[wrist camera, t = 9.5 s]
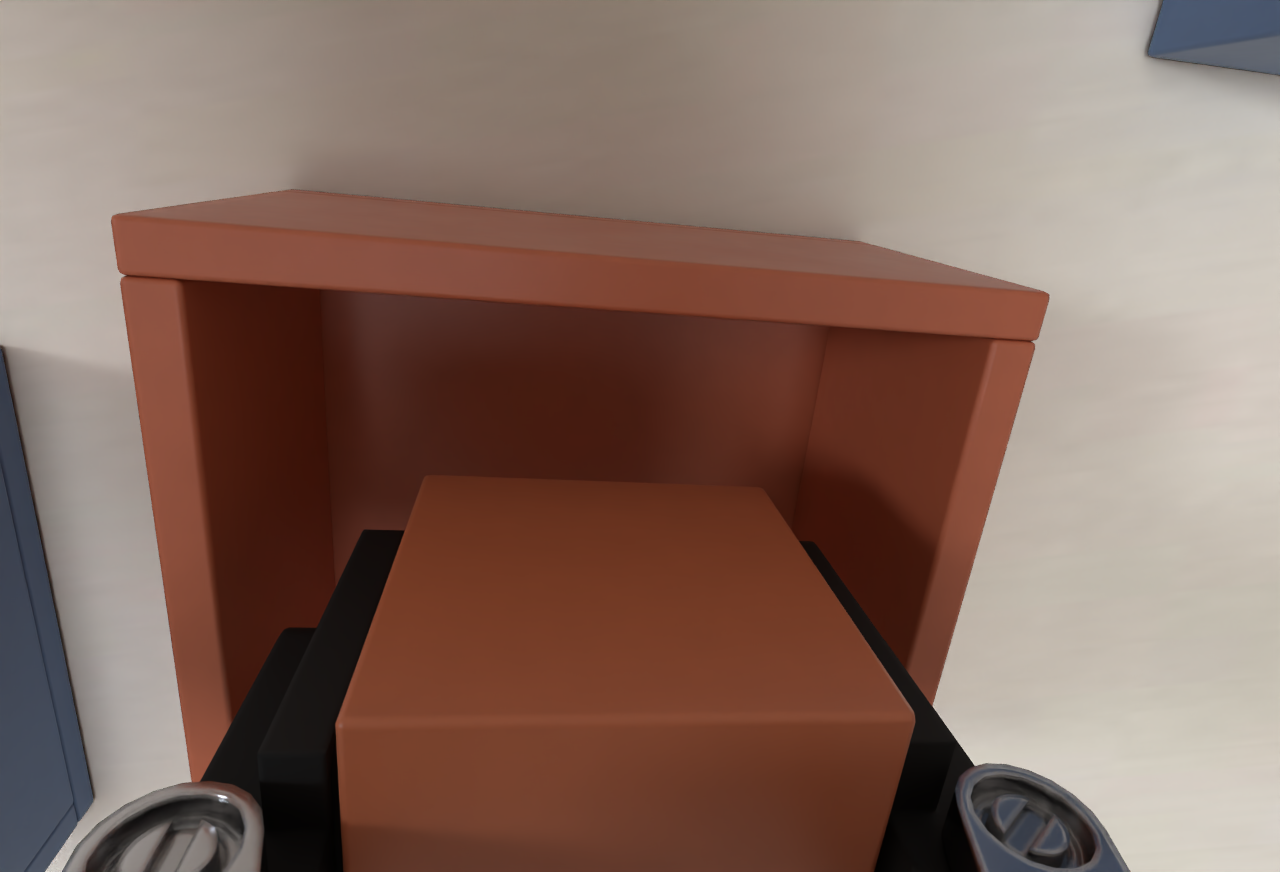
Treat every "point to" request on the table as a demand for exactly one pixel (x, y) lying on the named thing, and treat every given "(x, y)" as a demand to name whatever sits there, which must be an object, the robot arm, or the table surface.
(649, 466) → the terracotta bin
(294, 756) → the robot arm
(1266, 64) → the slate block
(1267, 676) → the table surface
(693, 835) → the terracotta block
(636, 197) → the table surface
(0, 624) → the slate bin
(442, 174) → the table surface
